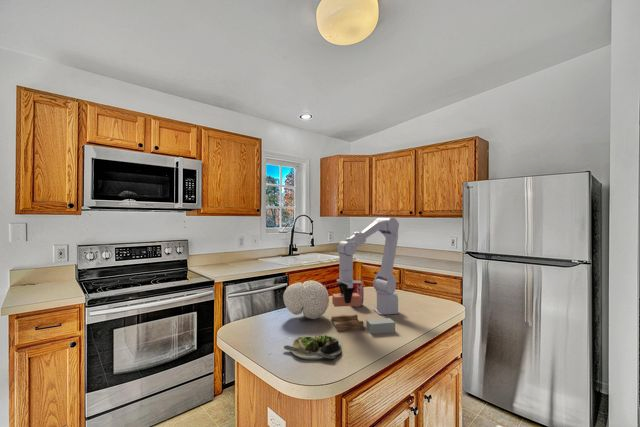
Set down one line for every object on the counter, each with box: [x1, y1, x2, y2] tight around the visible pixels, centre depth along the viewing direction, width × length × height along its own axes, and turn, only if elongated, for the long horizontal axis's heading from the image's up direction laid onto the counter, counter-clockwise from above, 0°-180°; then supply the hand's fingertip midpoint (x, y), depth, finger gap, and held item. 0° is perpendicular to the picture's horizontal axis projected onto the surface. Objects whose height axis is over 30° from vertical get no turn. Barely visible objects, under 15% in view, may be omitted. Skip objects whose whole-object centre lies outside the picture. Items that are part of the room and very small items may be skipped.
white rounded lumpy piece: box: [282, 279, 330, 320], centre depth 132 cm, size 20×18×16 cm
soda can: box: [353, 279, 365, 308], centre depth 151 cm, size 7×7×12 cm
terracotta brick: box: [331, 293, 361, 308], centre depth 130 cm, size 11×5×4 cm, turn 99°
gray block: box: [365, 317, 396, 335], centre depth 119 cm, size 10×5×4 cm, turn 101°
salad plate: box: [283, 334, 342, 361], centre depth 102 cm, size 19×18×5 cm
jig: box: [330, 314, 366, 332], centre depth 125 cm, size 11×12×2 cm
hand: (346, 300), depth 130 cm, fingers closed on terracotta brick, 5 cm apart
